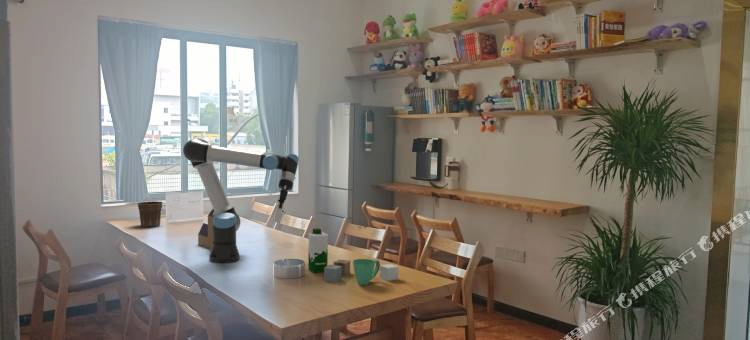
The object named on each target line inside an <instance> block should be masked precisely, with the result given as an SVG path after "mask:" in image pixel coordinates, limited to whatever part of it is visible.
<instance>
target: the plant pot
mask: <svg viewBox="0 0 750 340" xmlns="http://www.w3.org/2000/svg"><path fill="white" fill-rule="evenodd" d="M163 203H164V202H163V201H154V200H153V201H142V202H137V208H138V213H139V220H140V227H142V228H150V227H151V228H155V227H159V226H161V215H162V208H163Z"/></svg>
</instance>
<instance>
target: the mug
mask: <svg viewBox="0 0 750 340" xmlns="http://www.w3.org/2000/svg"><path fill="white" fill-rule="evenodd" d="M380 265H381V263H380V261H379V260H378V259H369V258H357V259H353V261H352V266H353V271H354V276H355V279H356V282H357V284H358V285H360V286H367V285H369V284H370V282H371V281H372V280H373V279H374V278H375V277H376V275H377V274H378V272H380Z"/></svg>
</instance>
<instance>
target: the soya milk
mask: <svg viewBox="0 0 750 340" xmlns="http://www.w3.org/2000/svg"><path fill="white" fill-rule="evenodd" d="M328 247H329V234H328V233H325V232H323V231H322V229H321V228H312V232H310V233H308V257H307V258H308V270H309V271H310V272H312V273H313V274H316V273H317V274H319V273H320V274H321V273H324V267H326V266H328V261H329V259H328V257H329V256H328V255H329V251H328Z"/></svg>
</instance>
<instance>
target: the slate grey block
mask: <svg viewBox="0 0 750 340" xmlns="http://www.w3.org/2000/svg"><path fill="white" fill-rule="evenodd" d="M342 277H343V276H342V266H337V265H333V264H329V265H328V264H327V266H326V267H324V272H323V281H326V282H333V283H336V282H338V281H341V280H342V279H343V278H342Z"/></svg>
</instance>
